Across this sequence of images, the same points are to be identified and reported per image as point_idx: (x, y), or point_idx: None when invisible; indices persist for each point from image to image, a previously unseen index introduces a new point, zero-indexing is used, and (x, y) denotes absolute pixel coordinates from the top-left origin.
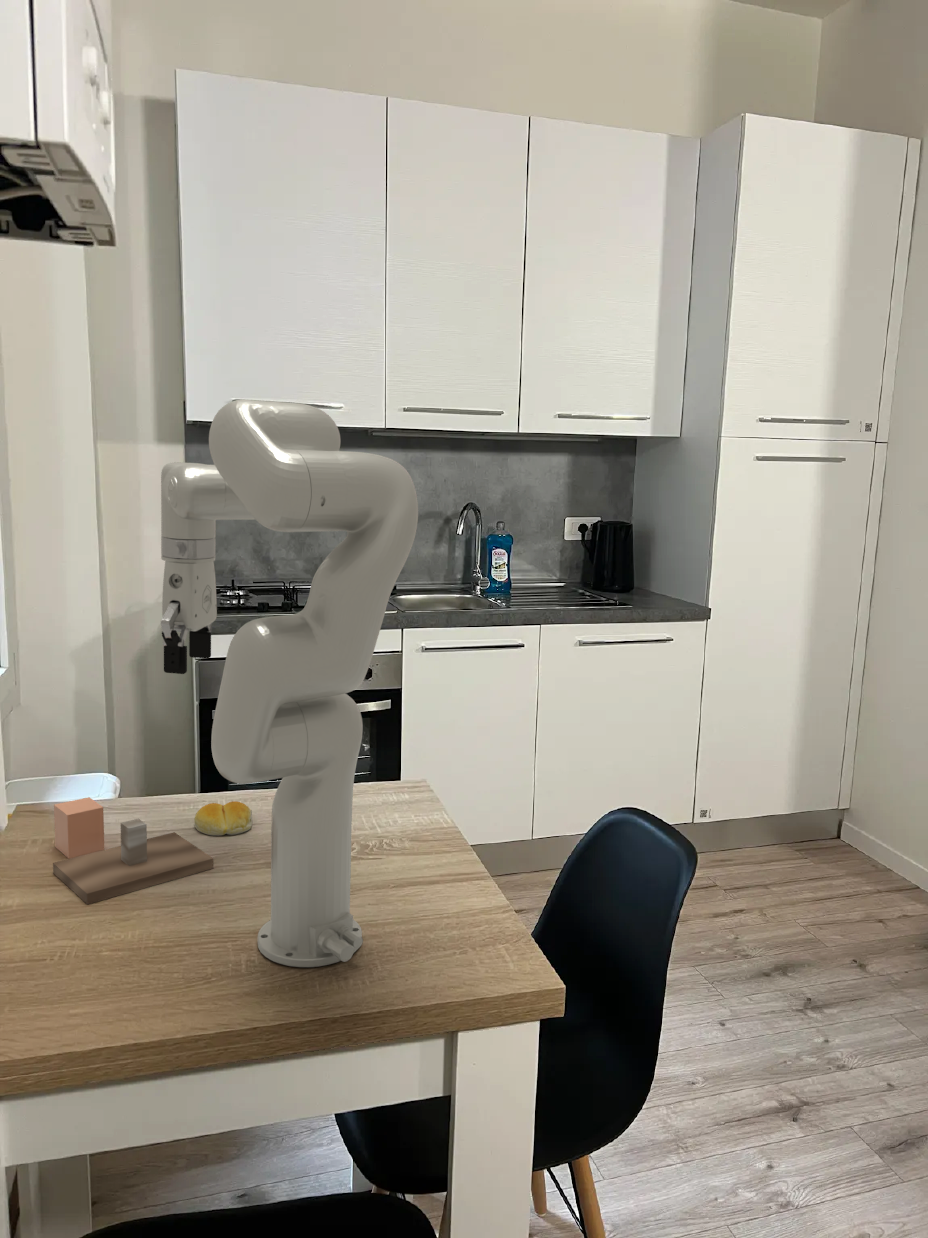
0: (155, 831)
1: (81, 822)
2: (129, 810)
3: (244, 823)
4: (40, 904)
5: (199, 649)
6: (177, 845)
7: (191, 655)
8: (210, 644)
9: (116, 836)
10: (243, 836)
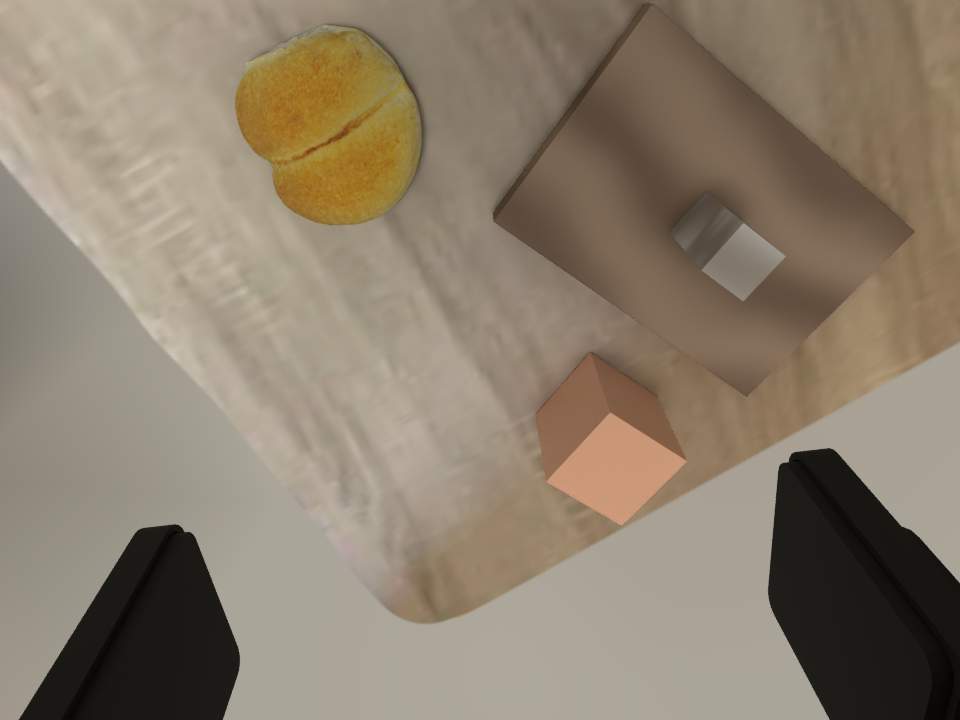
0: (441, 297)
1: (652, 426)
2: (337, 425)
3: (357, 35)
4: (897, 321)
5: (191, 657)
6: (582, 164)
7: (235, 658)
8: (94, 627)
9: (503, 369)
10: (386, 25)
